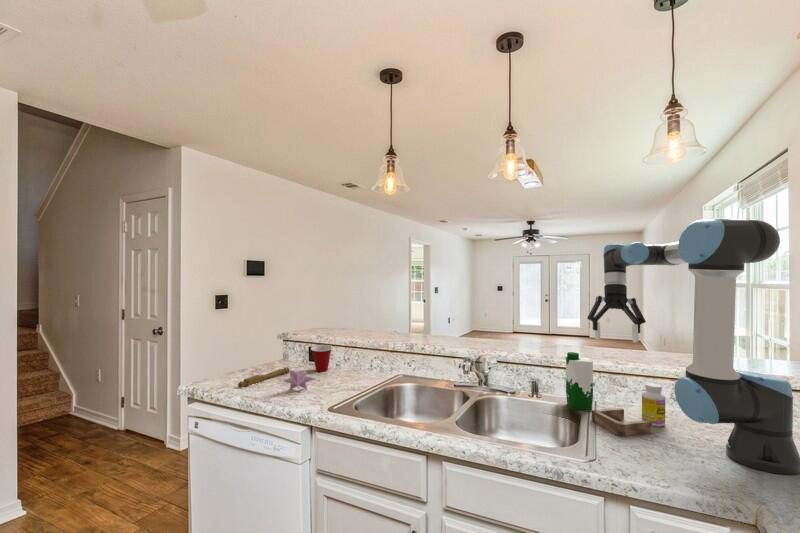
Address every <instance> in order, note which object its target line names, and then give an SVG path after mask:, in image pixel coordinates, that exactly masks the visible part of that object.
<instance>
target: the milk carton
mask: <svg viewBox="0 0 800 533" xmlns="http://www.w3.org/2000/svg"><path fill="white" fill-rule="evenodd" d="M565 395H566V404H567V405H568V407H569V409H570V410H572V411H585V410H593V399H594V362H593V361H592V360H591V359H590V358H588V357H581V356H580V354H579V353H578V352H573V351H572V352H571V351H570V352H567V353H566V356H565Z"/></svg>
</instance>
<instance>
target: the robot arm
mask: <svg viewBox="0 0 800 533" xmlns="http://www.w3.org/2000/svg"><path fill="white" fill-rule="evenodd" d="M780 244H781V238H780V234H779V232H778V229H776V228H775V227H774V226H773V225H772V224H770V223H768V222H766V221H763V220H761V219H754V218H746V219H742V218H738V219H737V218H707V219H699V220H698V219H697V220H695V221H693V222H691V223H690V224H689V225H687V226H686V228H685V229H683V231H682V232H681V234H680V236H679V238H678V241H675V242H669V243H664V244H661V243H659V244H646V243H645V244H644V243H642V242H641V241H635V242H629V243H627V244H622V243H612V244H611V243H610V244H606V245H605V246H604V247H603V255H602V256H603V272H604V274H603V276H604V277H603V281H604V282H603V283H604V284H605V285H603V286H604V289H603V290H604V292H603V293H604V296H602V295H597V296H596V297H595V301H594V304H593V306H592V307H591V309H590V311H589V314H588V316H587V318H586V320H589V321H591V322H592V331H594V334H595V335H594V340H597V341H598V340H601V322H600V321H599V320H600V319H601V318H602V317H603V316H604V315H605V314H606V313H607V312H608V310H610V309H611V310H614V309H615V310H621V311H623V313H624V314H626V316H627V317H628V318H629V319H630V321H632V323H633V324H631V330H632V331H631V332H632V339H631V340H632V343H639V334H641V325H642V324H646V323H647V322H646V319H645V317H644V315H643V314H642V311H641V309H640V308H639V306H638V304H637V299H636V298H635V297H632V298H628V297H627V295H628V287H627V285H626V284H627V268H628V267H631V266H678V265H681V264H688V265H687V266H688V267H687V268H688V269H687V270H688V271H689V272H690V273H691V274H693V276H694V302H693V304H694V305H693V332H692V333H693V334H692V335H693V339H692V363H691V364H689V365H687V366H686V367H685V376H683V377H679V378H678V379H677V381H676V382H675V383H674V387H673V389H674V390H673V392H674V396H675V400H676V402H677V405H678V406H679V407H680V409H681V411H682V412H683V414H684V415H685V416H686V417H688V418H689V419H690V420H692V421H694V422H695V423H700V424H710V425H716V424H733V428H732V430H731V432H730V435H729V437H728V439H727V441H726V444H725V453H726V455H727V456H728V457H729V458H730V459H732V460H733V461H735V462H737V463H739V464H742V465H744V466H746V467H749V468H752V469H756V470H757V471H758V470H759V471H762V472H766V473H767V472H768V473H771V474H777V475H788V476H789V475H791V476H792V475H798V474H800V454H799V451H798V448H797V445H796V443H795V441H794V438H793V432H794V431H793V428H794V427H793V426H794V425H793V422H794V415H793V410H794V409H793V407H794V406H793V405H794V403H793V402H794V396H793V388H792V385H791V383H790V382H789V381H787V380H785V379H784V378H780V377H776V376H773V375H770V374H765V373H759V372H755V371H749V370H748V371H747V370H740V369H738V370H737V369H735V368H734V354H735V329H736V328H735V324H736V322H735V321H736V298H737V297H736V292H737V291H736V290H737V289H736V288H737V277H738V276H740V275H741V274H742V273H743V272H745V264H753V263H754V264H755V263H759V262H763V261H766V260H767V259H770V258H771V257H772V256H774V255H775V254H776V252H777V251H778V249H779V248H780ZM603 302H604V303H605V304H604V305H603V306H602V308H601V309H600V310H599V308H600V306H601V304H602V303H603ZM627 303H628V304H629V305H630V307H629V305H627ZM630 308H631V309H632V311H633V312H632V311H631V309H630ZM598 310H599V311H598Z"/></svg>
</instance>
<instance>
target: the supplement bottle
mask: <svg viewBox="0 0 800 533" xmlns="http://www.w3.org/2000/svg"><path fill="white" fill-rule="evenodd" d="M644 389H645V390H643V391H642V393H641V421H645V420H649V421H651V422H652V427H655V428H656V427H658V428H661V427H664V426H665V425H666V395H665V394H664V393H662V391H663V390H662V389H663V387H662V385H661V384H659V383H655V382H647V383H646V382H645V385H644Z"/></svg>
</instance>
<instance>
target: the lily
mask: <svg viewBox="0 0 800 533" xmlns="http://www.w3.org/2000/svg"><path fill="white" fill-rule="evenodd" d="M288 374H289V377H290V378H287V379H284V380H283V381H282V382H283V383H289V384H290V385H289V388H290V390H293V389H296V388H298V387H301V388H303V389H304V390H306V389H308V388H307V387H308V386H307V383H308V382H312V381H315V380H316V378H315V377H312V376H307V371H303V372H301V373H298V372H297V371H295V370H293V369H289V373H288Z"/></svg>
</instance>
